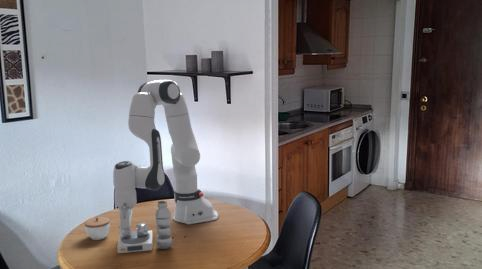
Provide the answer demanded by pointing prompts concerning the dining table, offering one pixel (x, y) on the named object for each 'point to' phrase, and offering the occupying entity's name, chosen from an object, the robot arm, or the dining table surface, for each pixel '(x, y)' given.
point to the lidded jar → (97, 227)
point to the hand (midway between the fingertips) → (127, 231)
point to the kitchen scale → (135, 243)
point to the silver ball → (142, 230)
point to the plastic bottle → (163, 226)
